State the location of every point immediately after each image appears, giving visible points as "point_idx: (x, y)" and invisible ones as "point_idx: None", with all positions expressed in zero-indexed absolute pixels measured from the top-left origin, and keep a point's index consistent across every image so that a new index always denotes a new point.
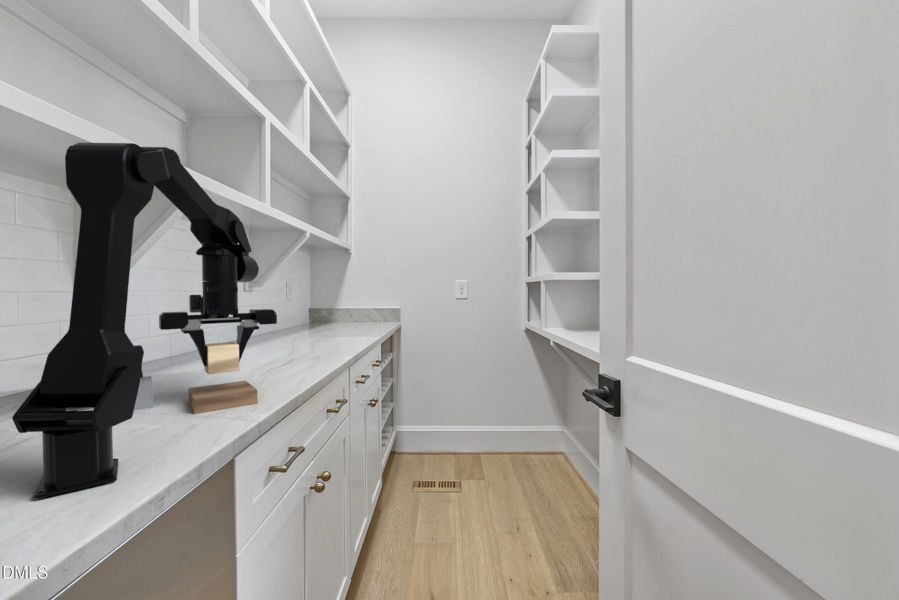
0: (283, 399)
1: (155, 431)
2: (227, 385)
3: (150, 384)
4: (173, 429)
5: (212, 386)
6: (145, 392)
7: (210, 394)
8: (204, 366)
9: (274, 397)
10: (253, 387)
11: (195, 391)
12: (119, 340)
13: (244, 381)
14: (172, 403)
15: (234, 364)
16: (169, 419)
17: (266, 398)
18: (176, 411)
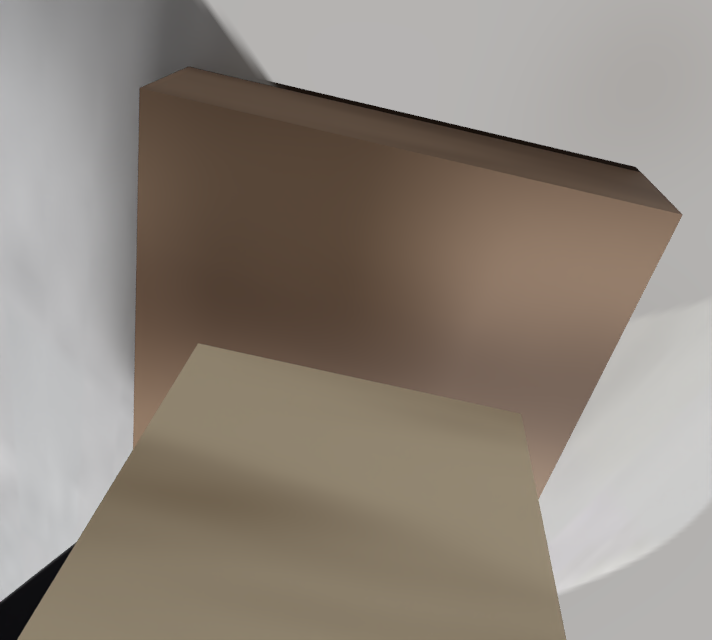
0: (648, 527)
1: (3, 516)
2: (447, 277)
3: None
4: (66, 542)
5: (335, 207)
6: None
7: None
8: (181, 373)
9: (655, 456)
10: (537, 493)
11: (174, 277)
12: None
13: (645, 243)
14: (72, 21)
15: None
16: (52, 408)
17: (608, 438)
18: (89, 288)
